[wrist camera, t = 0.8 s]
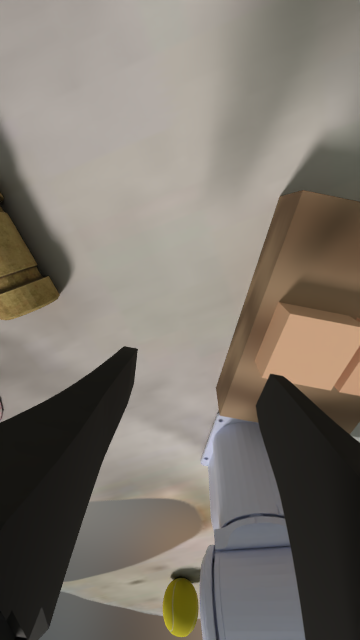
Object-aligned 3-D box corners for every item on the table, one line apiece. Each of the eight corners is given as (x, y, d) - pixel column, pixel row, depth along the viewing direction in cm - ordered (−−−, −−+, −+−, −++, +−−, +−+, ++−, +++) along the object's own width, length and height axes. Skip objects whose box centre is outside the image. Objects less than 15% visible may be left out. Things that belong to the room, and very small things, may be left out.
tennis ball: (161, 580, 47) (155, 636, 41) (171, 569, 44) (167, 628, 38) (190, 587, 48) (190, 644, 41) (203, 577, 45) (204, 636, 38)
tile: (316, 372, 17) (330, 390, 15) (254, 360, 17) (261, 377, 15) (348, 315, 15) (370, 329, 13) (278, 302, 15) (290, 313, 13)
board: (325, 407, 23) (346, 438, 20) (216, 387, 23) (219, 415, 20) (442, 229, 15) (508, 232, 12) (279, 196, 15) (303, 190, 12)
